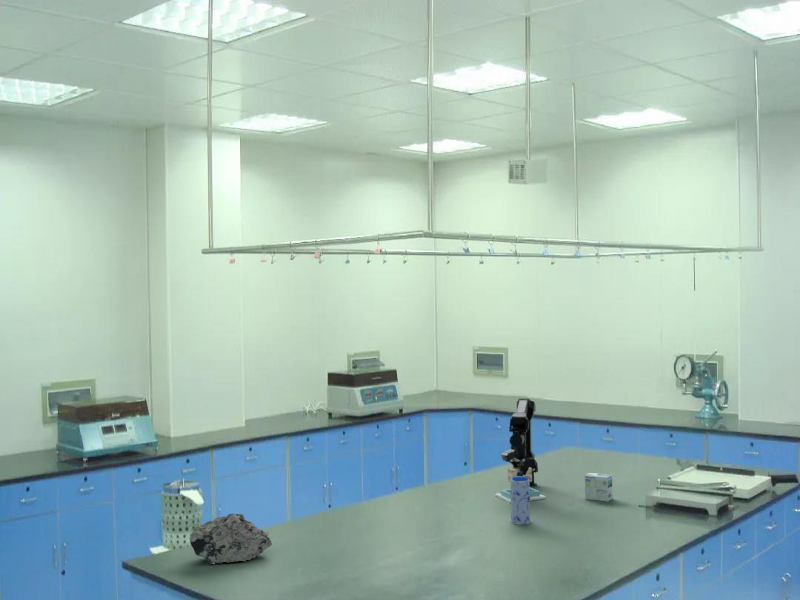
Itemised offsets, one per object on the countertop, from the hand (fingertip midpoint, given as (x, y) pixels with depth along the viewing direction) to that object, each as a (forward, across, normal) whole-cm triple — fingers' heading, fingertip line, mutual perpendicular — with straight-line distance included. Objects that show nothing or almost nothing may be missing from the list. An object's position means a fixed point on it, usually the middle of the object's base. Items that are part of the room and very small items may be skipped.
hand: (519, 478), depth 373 cm
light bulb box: (+9, +17, +30) cm, 36 cm away
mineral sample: (+8, +35, -135) cm, 140 cm away
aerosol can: (+9, +36, -20) cm, 42 cm away
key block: (+2, 0, 0) cm, 2 cm away
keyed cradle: (+8, 0, 0) cm, 9 cm away
